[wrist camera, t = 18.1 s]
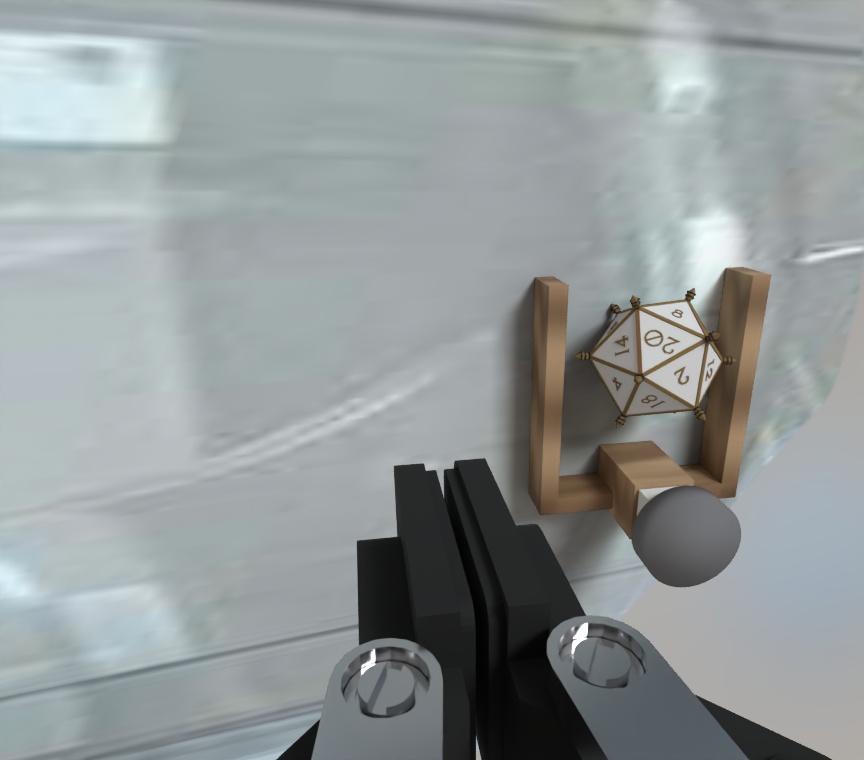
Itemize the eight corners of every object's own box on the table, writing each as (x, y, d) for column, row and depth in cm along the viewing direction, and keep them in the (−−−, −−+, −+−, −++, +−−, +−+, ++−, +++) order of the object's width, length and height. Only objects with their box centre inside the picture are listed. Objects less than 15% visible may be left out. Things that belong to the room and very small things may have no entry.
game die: (582, 338, 46) (533, 376, 38) (665, 250, 41) (629, 271, 33) (674, 423, 44) (643, 482, 36) (771, 341, 40) (761, 387, 31)
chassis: (535, 277, 40) (576, 303, 33) (742, 267, 42) (826, 289, 34) (528, 499, 46) (562, 563, 38) (711, 482, 47) (777, 541, 40)
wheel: (622, 473, 39) (649, 505, 35) (711, 466, 39) (747, 496, 36) (614, 554, 41) (640, 592, 37) (700, 545, 41) (733, 581, 38)
